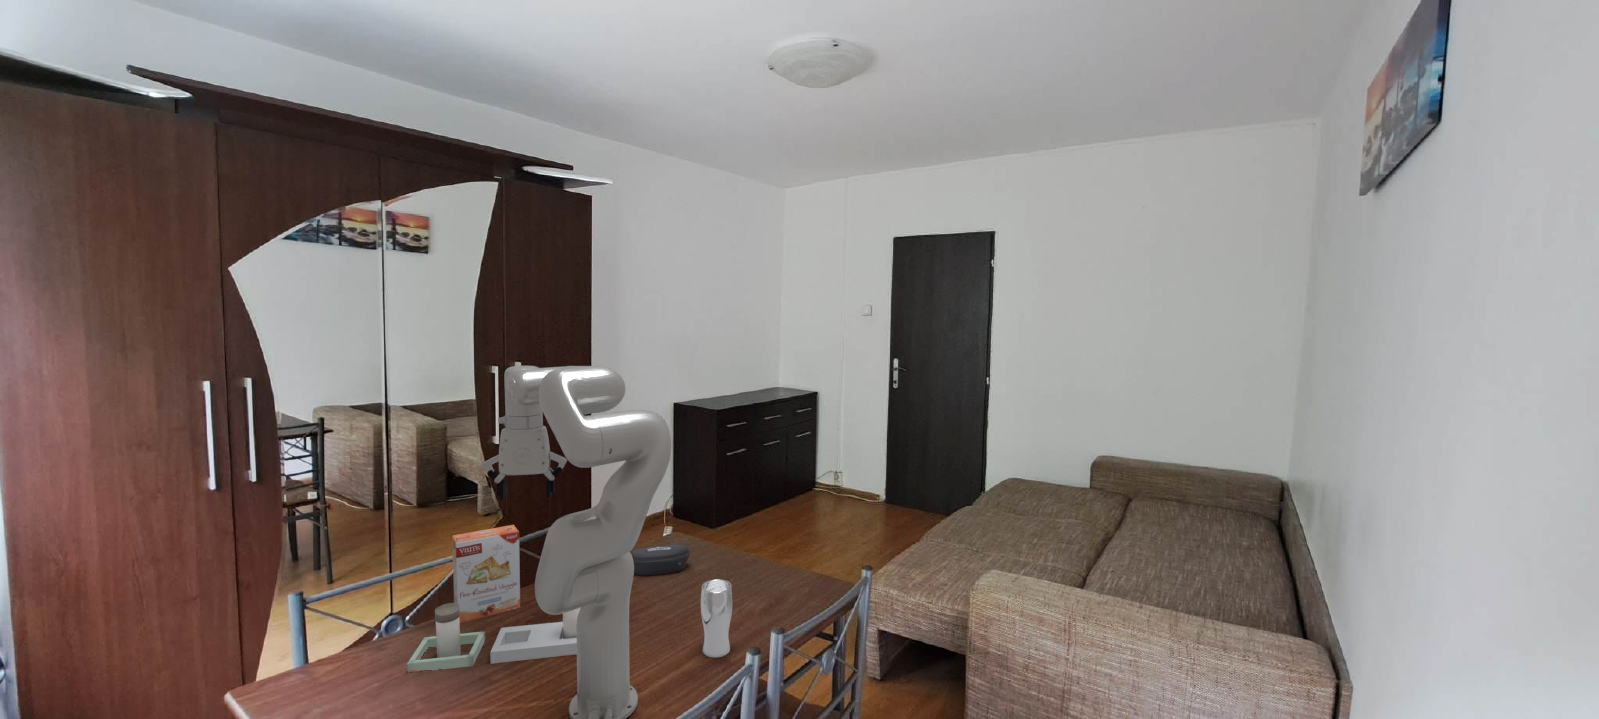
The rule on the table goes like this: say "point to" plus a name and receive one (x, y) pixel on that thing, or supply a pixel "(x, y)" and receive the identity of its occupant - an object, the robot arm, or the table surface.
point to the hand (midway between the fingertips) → (526, 497)
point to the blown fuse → (448, 630)
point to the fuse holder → (532, 643)
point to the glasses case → (660, 559)
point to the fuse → (570, 623)
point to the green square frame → (447, 662)
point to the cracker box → (486, 572)
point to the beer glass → (716, 617)
